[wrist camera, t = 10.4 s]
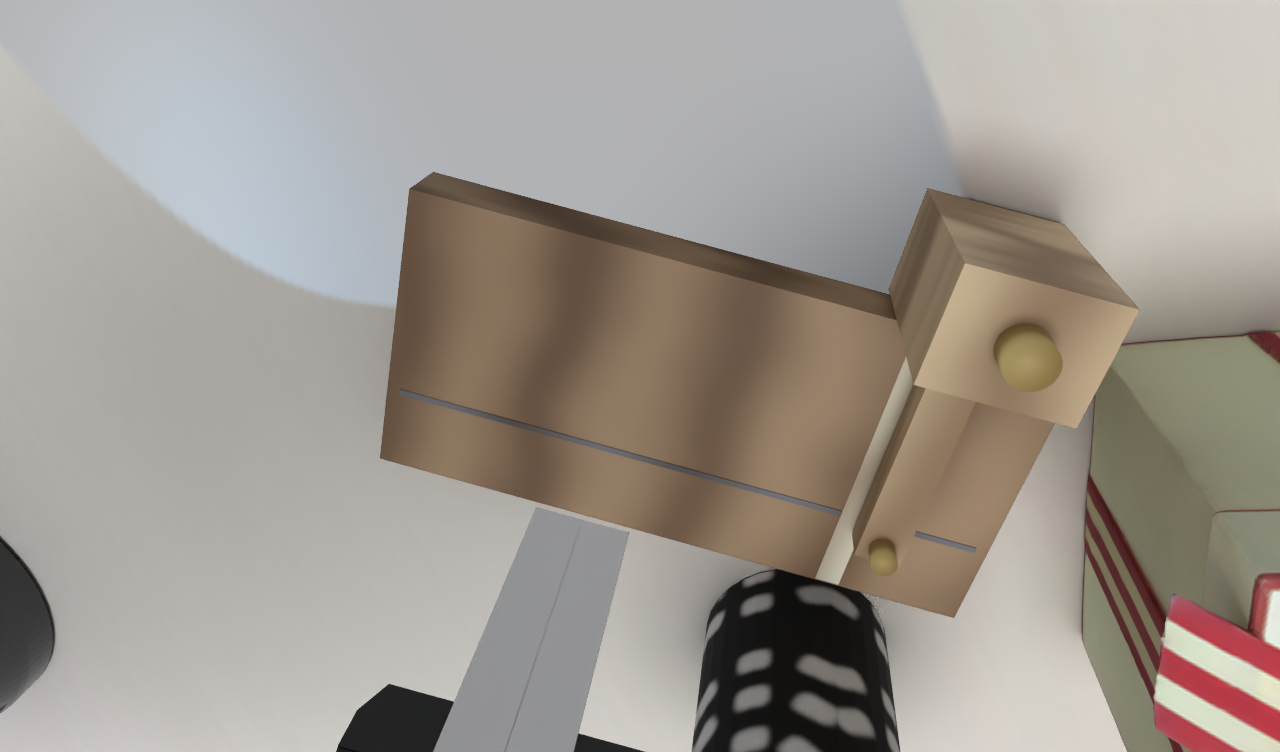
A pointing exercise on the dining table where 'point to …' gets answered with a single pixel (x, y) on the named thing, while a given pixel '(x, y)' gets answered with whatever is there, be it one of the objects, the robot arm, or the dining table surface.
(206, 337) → the dining table surface
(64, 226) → the dining table surface
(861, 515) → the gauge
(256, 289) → the dining table surface
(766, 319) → the board
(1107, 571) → the gift box
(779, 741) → the spotted tube
